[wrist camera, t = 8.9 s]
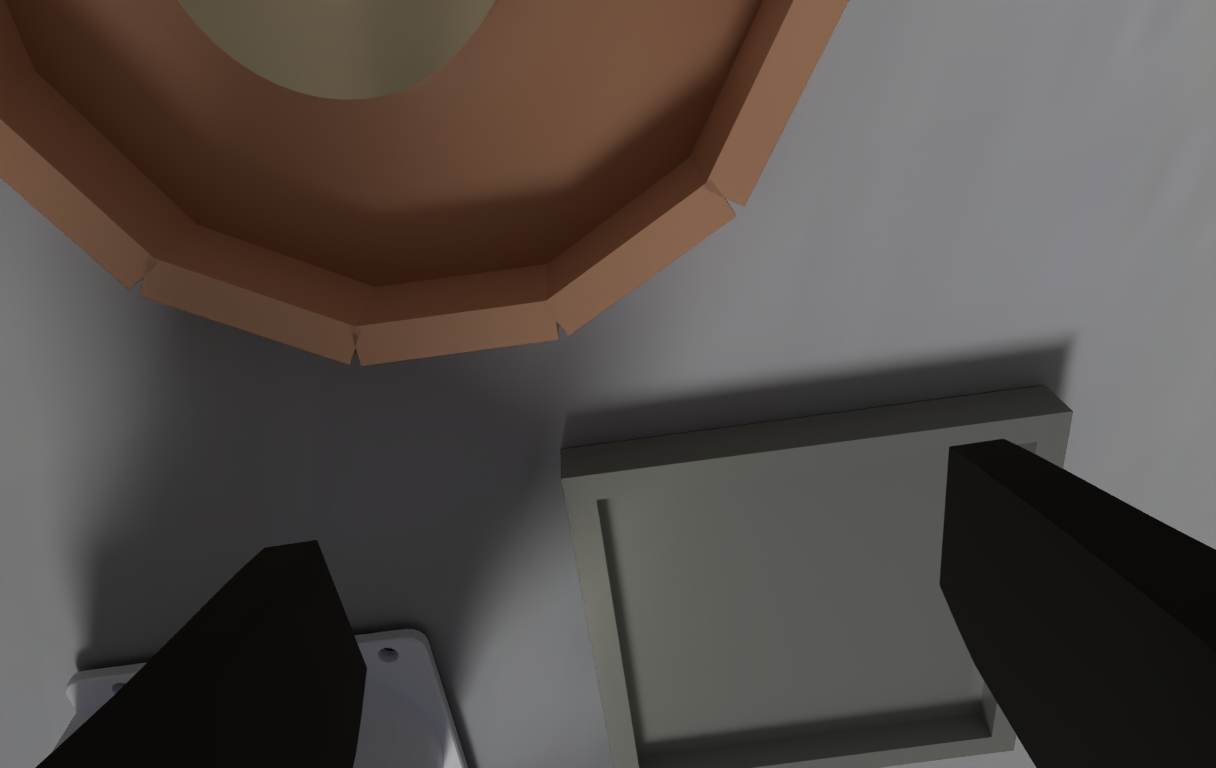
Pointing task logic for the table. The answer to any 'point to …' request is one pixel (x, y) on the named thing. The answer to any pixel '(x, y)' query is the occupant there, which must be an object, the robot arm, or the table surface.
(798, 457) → the tray
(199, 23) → the cream domed cylinder
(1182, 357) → the table surface
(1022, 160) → the table surface
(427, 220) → the orange shallow dish
